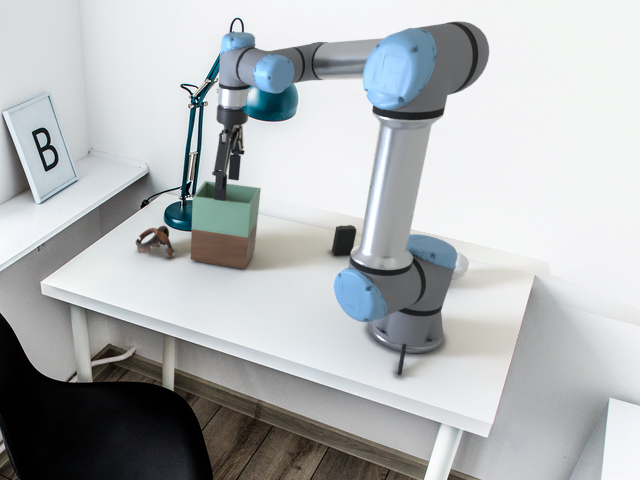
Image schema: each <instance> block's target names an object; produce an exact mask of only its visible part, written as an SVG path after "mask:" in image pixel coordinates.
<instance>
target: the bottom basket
mask: <svg viewBox="0 0 640 480" xmlns="http://www.w3.org/2000/svg"><path fill="white" fill-rule="evenodd" d="M257 229H258V221H257V222H256V224H255V225H254V227H253V229H252V231H251V233H250V235H249V237H248V238H247V237H241V236H234V235H228V234H221V233H215V232H208V231H201V230H195V229H192V228H191V234H190V235H191V238H190V260H192V261H195V262H197V263H203V264H208V265H214V266H220V267H227V268H232V269H233V268H234V269H238V270H242V269H246V268H247V266H248V264H249V262H250V259H251V258H252V256H253V254H254V252H255V249H256V239H257V231H258V230H257Z"/></svg>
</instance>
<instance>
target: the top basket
mask: <svg viewBox="0 0 640 480" xmlns="http://www.w3.org/2000/svg"><path fill="white" fill-rule="evenodd" d="M261 190H262V189H261V187H256V186H247V185H241V184H240V185H239V184H232V183H227V187H226V200H225V201H220V200H214V195H215V181H210V180H209V181H208V180H204V181H203V183H202V184H201V186H200V187H199V188H198V189H197V191H196V192H195V193H194V195H193V196H192V206H191V207H192V208H191V209H192V211H191V230H192V229H195V230H201V231H208V232H215V233H221V234H228V235H234V236H241V237H247V238H248V237H249V235H250V233H251V231H252V229H253V227H254V225H255V224H256V222H257V223H258V219H259V210H260V200H261Z"/></svg>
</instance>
